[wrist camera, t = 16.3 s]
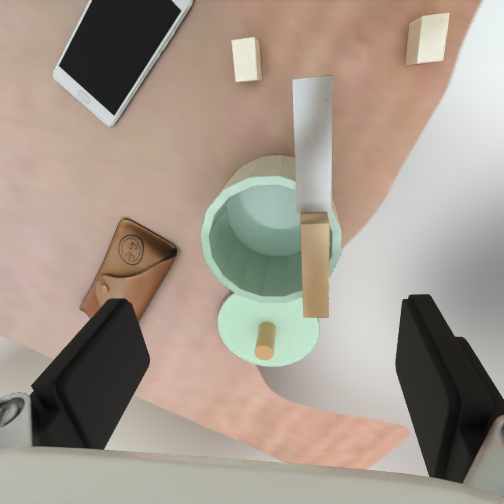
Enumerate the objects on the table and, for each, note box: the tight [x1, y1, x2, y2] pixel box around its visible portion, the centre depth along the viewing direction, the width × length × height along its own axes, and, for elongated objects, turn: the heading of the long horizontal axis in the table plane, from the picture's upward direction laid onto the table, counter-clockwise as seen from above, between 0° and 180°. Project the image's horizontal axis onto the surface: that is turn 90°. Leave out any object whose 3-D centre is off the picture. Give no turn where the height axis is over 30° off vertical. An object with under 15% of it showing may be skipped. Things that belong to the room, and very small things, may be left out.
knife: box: [292, 75, 333, 318], centre depth 27 cm, size 3×19×3 cm, turn 6°
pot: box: [200, 155, 342, 303], centre depth 34 cm, size 13×13×9 cm
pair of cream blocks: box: [231, 13, 450, 82], centre depth 29 cm, size 17×3×4 cm, turn 95°
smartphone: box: [53, 0, 193, 127], centre depth 32 cm, size 8×1×15 cm
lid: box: [217, 292, 320, 366], centre depth 43 cm, size 14×14×6 cm
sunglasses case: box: [80, 219, 177, 322], centre depth 44 cm, size 18×7×7 cm
